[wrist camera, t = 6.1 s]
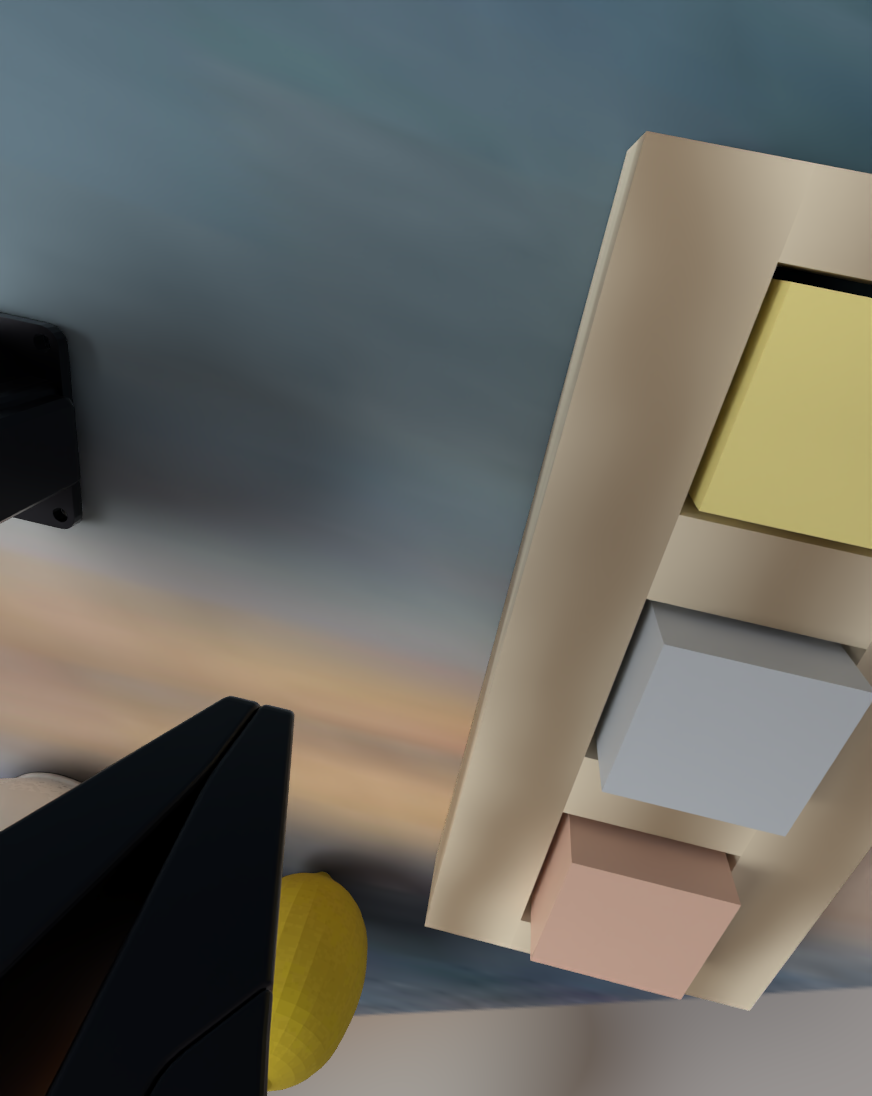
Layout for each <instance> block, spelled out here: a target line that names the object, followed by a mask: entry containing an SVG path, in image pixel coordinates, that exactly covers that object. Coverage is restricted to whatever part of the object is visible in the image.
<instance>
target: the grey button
mask: <svg viewBox="0 0 872 1096" xmlns="http://www.w3.org/2000/svg"><path fill="white" fill-rule="evenodd" d="M871 703H872V686H871V685H870V684H869V682H868V681H867V680H866V678H865V677H864V676H863V674H862V673H861V672H860V670H859V669H858V668H857V666H856V665H855V663H854V662H853V661H852V659H851V658H850V657H849V655H848V654H847V653H846V651H845V650H844V649H843V647H842V646H841V645H840V643H837V642H832V641H828V640H823V639H819V638H815V637H810V636H806V635H802V634H797V633H793V632H789V631H784V630H780V629H775V628H771V627H767V626H762V625H758V624H754V623H749V622H745V621H741V620H736V619H732V618H727V617H723V616H719V615H714V614H710V613H706V612H701V611H697V610H693V609H688V608H684V607H679V606H675V605H671V604H666V603H662V602H658V601H653V600H649V599H646V601H645V603H644V606H643V609H642V611H641V614H640V616H639V619H638V621H637V624H636V626H635V629H634V632H633V634H632V637H631V639H630V642H629V644H628V647H627V649H626V652H625V655H624V657H623V660H622V662H621V665H620V667H619V670H618V672H617V675H616V678H615V680H614V683H613V685H612V688H611V690H610V693H609V695H608V698H607V701H606V703H605V706H604V708H603V711H602V713H601V716H600V718H599V721H598V724H597V726H596V729H595V735H596V744H597V753H598V762H599V771H600V780H601V788H602V792H606V793H610V794H614V795H618V796H622V797H626V798H630V799H634V800H638V801H642V802H646V803H650V804H654V805H659V806H663V807H667V808H671V809H675V810H679V811H683V812H687V813H691V814H695V815H699V816H703V817H707V818H711V819H715V820H720V821H724V822H728V823H732V824H736V825H740V826H744V827H748V828H752V829H756V830H760V831H764V832H768V833H772V834H776V835H781V836H786V835H787V833H788V832H789V830H790V829H791V827H792V826H793V824H794V822H795V821H796V819H797V818H798V816H799V815H800V813H801V812H802V810H803V808H804V807H805V805H806V804H807V802H808V801H809V799H810V798H811V796H812V794H813V793H814V791H815V790H816V788H817V787H818V785H819V783H820V782H821V780H822V779H823V777H824V776H825V774H826V773H827V771H828V769H829V768H830V766H831V765H832V763H833V762H834V760H835V759H836V757H837V755H838V754H839V752H840V751H841V749H842V748H843V746H844V745H845V743H846V741H847V740H848V738H849V737H850V735H851V734H852V732H853V731H854V729H855V727H856V726H857V724H858V723H859V721H860V720H861V718H862V717H863V715H864V713H865V712H866V710H867V709H868V707H869V706H870V704H871Z"/></svg>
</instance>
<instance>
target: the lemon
mask: <svg viewBox="0 0 872 1096" xmlns="http://www.w3.org/2000/svg"><path fill="white" fill-rule="evenodd" d="M366 963H367V934H366V928H365V924H364V920H363V918H362V915H361V912H360V909H359V907H358V905H357V903H356V902H355V901H354V899H353V898H352V896H351V895H350V893H349V892H348V891H347V890H346V889H345V888H344V887H342V886H341V885H340V884H339V883H337V882H336V881H334V880H332V878H331V877H330V875H329V874H328V873H326V872H318V873H297V874H291V875H288V876H285V877H282V882H281V895H280V907H279V920H278V933H277V946H276V958H275V971H274V984H273V1002H272V1015H271V1028H270V1041H269V1063H268V1085H267V1091H276V1090H283V1089H286V1088H289V1087H291V1086H294V1085H297V1084H299V1083H301V1082H303V1081H304V1080H306V1079H308V1078H309V1077H310V1076H311V1075H313V1074H314V1073H315V1072H316V1071H318V1070H319V1069H320V1068H322V1066H323V1065H324V1064H325V1063H326V1062H327V1061H328V1060H329V1059H330V1058H331V1056H332V1055H333V1053H334V1052H335V1050H336V1049H337V1047H338V1045H339V1043H340V1041H341V1040H342V1038H343V1036H344V1034H345V1032H346V1030H347V1028H348V1026H349V1024H350V1022H351V1019H352V1017H353V1015H354V1013H355V1010H356V1007H357V1005H358V1002H359V999H360V996H361V992H362V989H363V984H364V979H365V973H366Z"/></svg>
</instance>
